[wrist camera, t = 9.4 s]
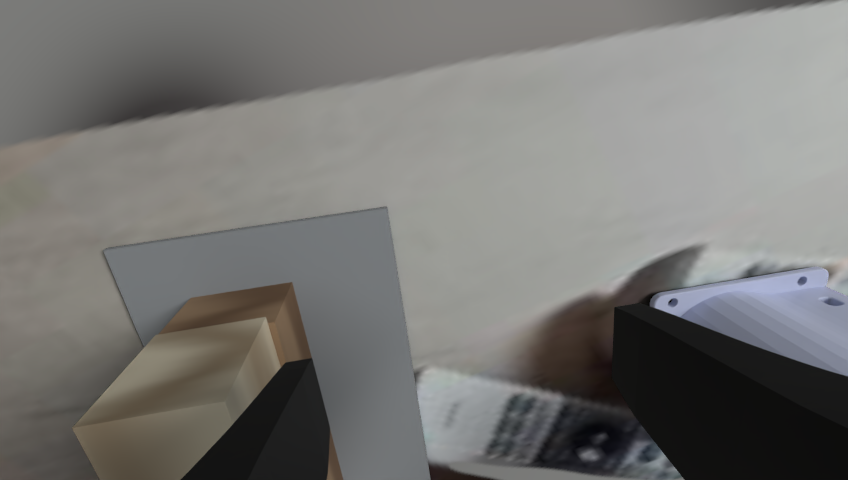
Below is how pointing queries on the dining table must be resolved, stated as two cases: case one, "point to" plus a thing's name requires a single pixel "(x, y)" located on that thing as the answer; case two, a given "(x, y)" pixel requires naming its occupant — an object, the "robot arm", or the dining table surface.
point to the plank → (177, 400)
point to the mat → (307, 319)
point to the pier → (250, 316)
